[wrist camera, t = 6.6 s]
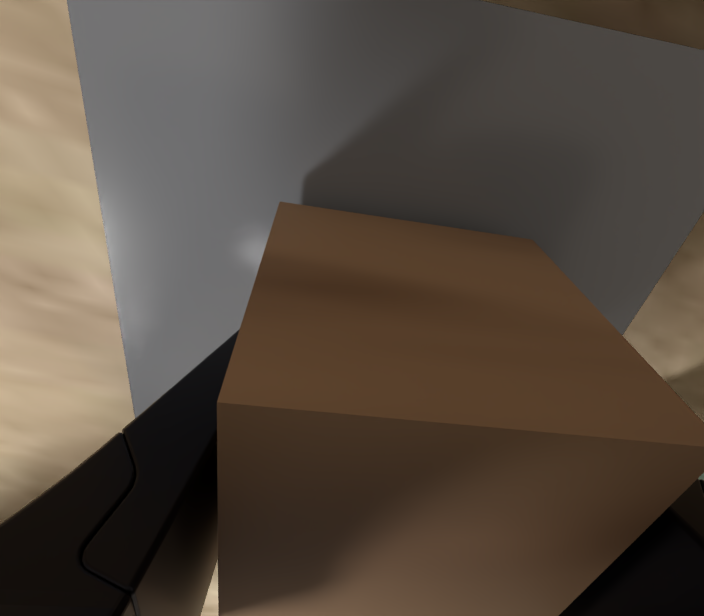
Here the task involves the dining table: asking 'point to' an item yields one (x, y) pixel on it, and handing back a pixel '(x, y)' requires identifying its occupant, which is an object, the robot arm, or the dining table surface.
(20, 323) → the dining table surface
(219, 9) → the slate board
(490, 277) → the walnut block
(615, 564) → the robot arm
